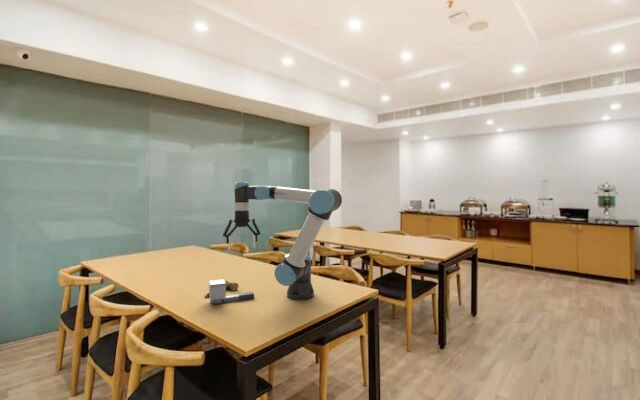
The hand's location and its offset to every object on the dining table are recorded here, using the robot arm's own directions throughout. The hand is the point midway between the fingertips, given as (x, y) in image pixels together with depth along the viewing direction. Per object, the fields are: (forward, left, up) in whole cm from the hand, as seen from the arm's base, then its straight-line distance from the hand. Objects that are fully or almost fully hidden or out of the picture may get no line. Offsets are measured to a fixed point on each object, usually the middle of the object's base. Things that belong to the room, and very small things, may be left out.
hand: (242, 248), depth 178 cm
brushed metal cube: (+14, +5, -24) cm, 28 cm away
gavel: (+11, -11, -27) cm, 31 cm away
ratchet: (+6, +5, -27) cm, 28 cm away
